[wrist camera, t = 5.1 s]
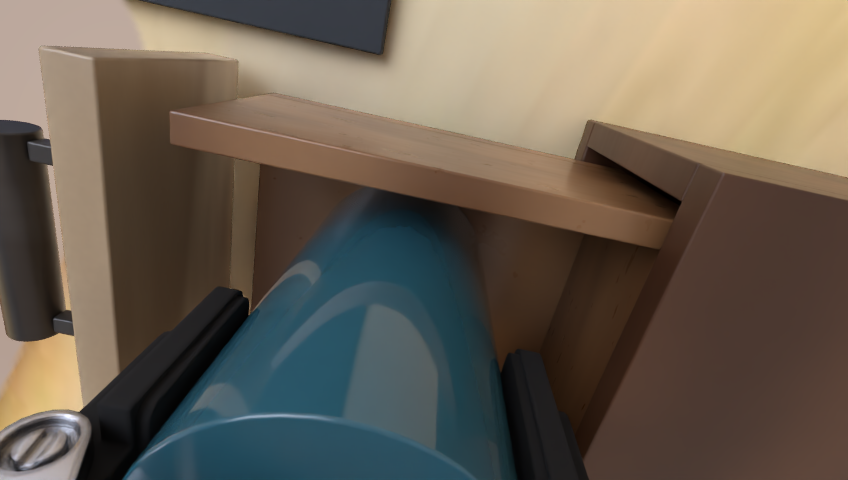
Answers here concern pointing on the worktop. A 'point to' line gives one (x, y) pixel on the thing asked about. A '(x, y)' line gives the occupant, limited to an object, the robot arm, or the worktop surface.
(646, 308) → the cabinet
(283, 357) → the teal blue cylinder
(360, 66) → the worktop surface
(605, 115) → the worktop surface
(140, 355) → the robot arm
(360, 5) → the mat
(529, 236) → the drawer
